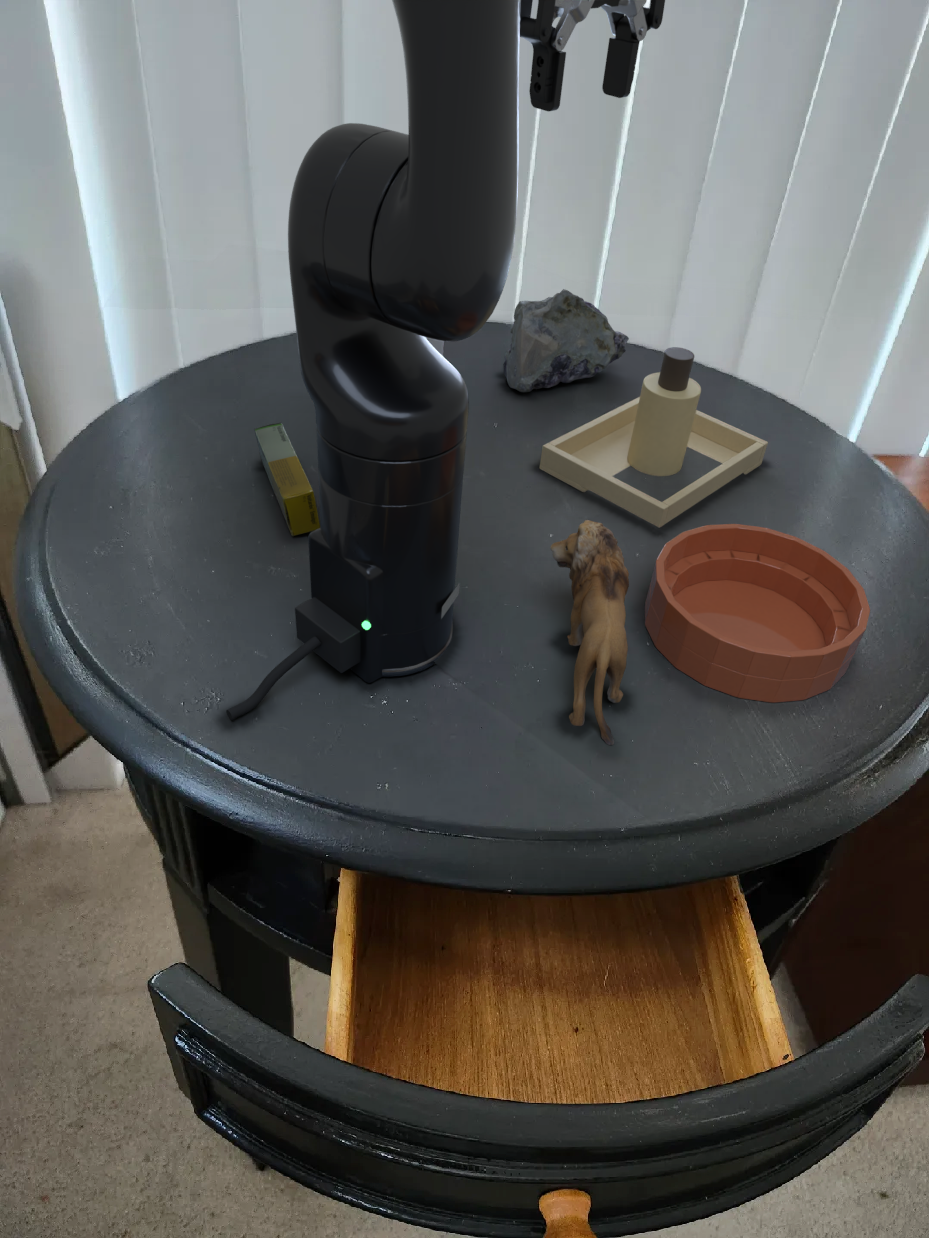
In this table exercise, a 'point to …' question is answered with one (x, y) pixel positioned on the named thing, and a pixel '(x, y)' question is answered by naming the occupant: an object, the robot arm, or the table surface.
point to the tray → (604, 451)
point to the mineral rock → (559, 342)
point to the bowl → (755, 612)
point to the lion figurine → (596, 615)
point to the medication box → (287, 479)
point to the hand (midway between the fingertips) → (580, 102)
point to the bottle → (665, 416)
